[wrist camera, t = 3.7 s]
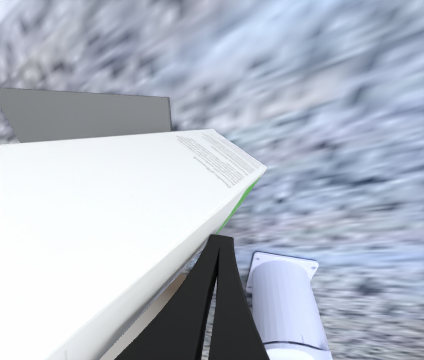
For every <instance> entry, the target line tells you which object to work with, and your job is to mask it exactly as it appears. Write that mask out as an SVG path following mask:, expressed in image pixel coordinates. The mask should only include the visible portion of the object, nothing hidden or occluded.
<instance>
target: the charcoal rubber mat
mask: <svg viewBox="0 0 424 360" xmlns="http://www.w3.org/2000/svg"><path fill="white" fill-rule="evenodd" d="M0 107H1V109H2V111H3V112H4V114H5V116H6V118H7V120H8V121H9V123H10V125H11V127H12V129H13V130H14V132H15V134H16V136H17V138H18V139H19V141H20V143H30V142H43V141H57V140H70V139H84V138H97V137H111V136H123V135H137V134H149V133H163V132H172V123H171V112H170V100H169V97H154V96H137V95H120V94H102V93H85V92H67V91H50V90H33V89H15V88H0Z"/></svg>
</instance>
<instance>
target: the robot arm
mask: <svg viewBox="0 0 424 360" xmlns="http://www.w3.org/2000/svg"><path fill="white" fill-rule="evenodd" d="M318 266H319V264H318V262H317V261H312V260H306V259H300V258H293V257H287V256H281V255H274V254H268V253H262V252H255V253H254V256H253V260H252V264H251V268H250V273H249V277H248V281H247V285H246V291H247V292H250V293H252V304H253V317H252V314H251V311H250V309H249V306H248V303H247V300H246V297H245V294H244V290H243V287H242V284H241V280H240V276H239V272H238V268H237V263H236V258H235V252H234V239H233V238H232V237H228V236H222V235H215V234H211V235H210V236H209V239H208V241H207V243H206V245H205V247H204V249H203V251H202V253H201V255H200V257H199V258H198V260H197V262H196V263H195V265H194V267H193V268H192V270H191V271H190V273H189V274H188V276H187V277H186V279H185V280H184V282H183V283H182V284H181V286H180V287H179V289H178V290H177V291H176V293H175V294H174V295H173V296H172V298H171V299H170V300H169V301H168V303H167V304H166V305H165V306H164V308H163V309H162V310H161V311H160V312H159V313H158V315H157V316H156V317H155V318H154V319H153V320H152V321H151V322H150V323H149V324H148V326H147V327H146V328H145V329H144V330H143V331H142V332H141V333H140V334H139V335H138V337H136V338H135V339H134V340H133V342H131V344H129V345H128V346H127V347H126V349H124V350H123V351H122V352H121V353H120V354H119V355H118V356H117V357H116V358H115V359H114V360H201V357H202V350H203V343H204V337H205V330H206V324H207V318H208V313H209V309H210V305H211V300H212V296H213V291H214V287H215V283H216V278H217V291H216V307H215V314H214V321H213V329H212V336H211V343H210V350H209V358H208V360H333V357H332V355H331V352H330V349H329V345H328V342H327V338H326V335H325V332H324V328H323V325H322V321H321V318H320V315H319V311H318V308H317V304H316V301H315V298H314V294H313V291H312V287H311V284H310V280H311V279H312V277H313V275H314V273H315V272H316V270H317V268H318Z"/></svg>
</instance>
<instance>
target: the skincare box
mask: <svg viewBox="0 0 424 360" xmlns="http://www.w3.org/2000/svg"><path fill="white" fill-rule="evenodd" d="M266 170H267V167H266V166H264V165H263V164H261V163H260V162H259V161H257V160H256V159H254V158H253V157H252V156H250V155H249V154H247V153H246V152H244V151H243V150H242V149H240V148H239V147H237V146H236V145H234V144H233V143H231V142H230V141H229V140H227V139H226V138H224V137H223V136H221V135H220V134H219V133H217V132H216V131H215V130H213V129H202V130H188V131H176V132H163V133H149V134H137V135H123V136H111V137H97V138H84V139H70V140H57V141H43V142H30V143H16V144H3V145H0V360H100V358H101V357H102V356H103V355H104V354H105V353H106V352H107V351H108V350H109V349H110V348H111V347H112V346H113V345H114V343H115V342H116V341H117V340H118V339H119V338H120V337H121V336H122V335H123V334H124V333H125V332H126V331H127V330H128V328H129V327H130V326H131V325H132V324H133V323H134V322H135V321H136V320H137V319H138V318H139V317H140V315H142V313H143V312H144V311H145V310H146V309H147V308H148V307H149V306H150V305H151V304H152V303H153V302H154V301H155V300H156V299H157V298H158V296H159V295H160V294H161V293H162V292H163V291H164V290H165V289H166V288H167V287H168V286H169V285H170V284H171V283H172V281H173V280H174V279H175V278H176V277H177V276H178V275H179V274H180V273H181V272H182V271H183V270H184V269H185V268H186V267H187V265H188V264H189V263H190V262H191V261H192V260H193V259H194V258H195V257H196V256H197V255H198V254H199V253H200V252H201V251H202V250H203V249H204V247H205V245H206V243H207V241H208V239H209V236H210V235H211V234H215V235H217V234H218V233H219V232H220V231H221V229H222V228H223V227H224V226H225V225H226V224H227V222H228V221H229V220H230V218H231V217H232V216H233V214H234V213H235V212H236V210H237V209H238V207H239V206H240V205H241V203H242V202H243V201H244V199H245V198H246V197H247V195H248V194H249V192H250V191H251V190H252V188H253V187H254V186H255V184H256V183H257V182H258V180H259V179H260V178H261V176H262V175H263V174H264V172H265V171H266Z"/></svg>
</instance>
